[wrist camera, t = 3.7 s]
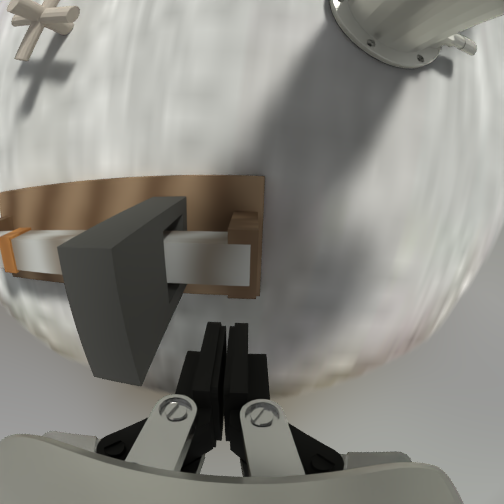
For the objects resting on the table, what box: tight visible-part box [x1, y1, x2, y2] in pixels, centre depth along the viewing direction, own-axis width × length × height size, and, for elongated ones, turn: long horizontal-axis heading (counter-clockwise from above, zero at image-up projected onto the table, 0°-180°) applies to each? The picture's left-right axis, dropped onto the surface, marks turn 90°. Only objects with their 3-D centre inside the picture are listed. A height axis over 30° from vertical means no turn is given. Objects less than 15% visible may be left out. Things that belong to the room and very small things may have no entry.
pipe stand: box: [0, 175, 265, 299], centre depth 22 cm, size 32×11×7 cm, turn 88°
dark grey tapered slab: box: [57, 196, 187, 386], centre depth 18 cm, size 3×8×14 cm, turn 178°
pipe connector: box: [7, 0, 80, 61], centre depth 13 cm, size 10×10×10 cm
